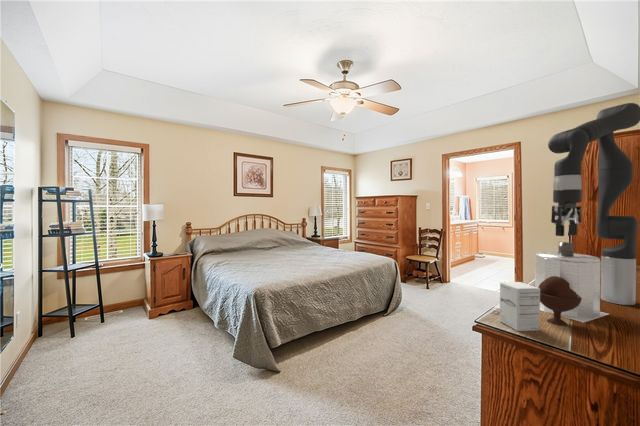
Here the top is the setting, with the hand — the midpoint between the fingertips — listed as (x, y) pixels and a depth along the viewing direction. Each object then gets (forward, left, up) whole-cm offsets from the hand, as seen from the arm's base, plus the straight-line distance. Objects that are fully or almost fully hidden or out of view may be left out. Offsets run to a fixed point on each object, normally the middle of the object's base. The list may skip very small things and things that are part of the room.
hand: (566, 235), depth 98 cm
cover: (0, 0, -26) cm, 26 cm away
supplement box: (+29, +1, -27) cm, 39 cm away
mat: (0, 0, -27) cm, 27 cm away
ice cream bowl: (+16, +5, -27) cm, 32 cm away
